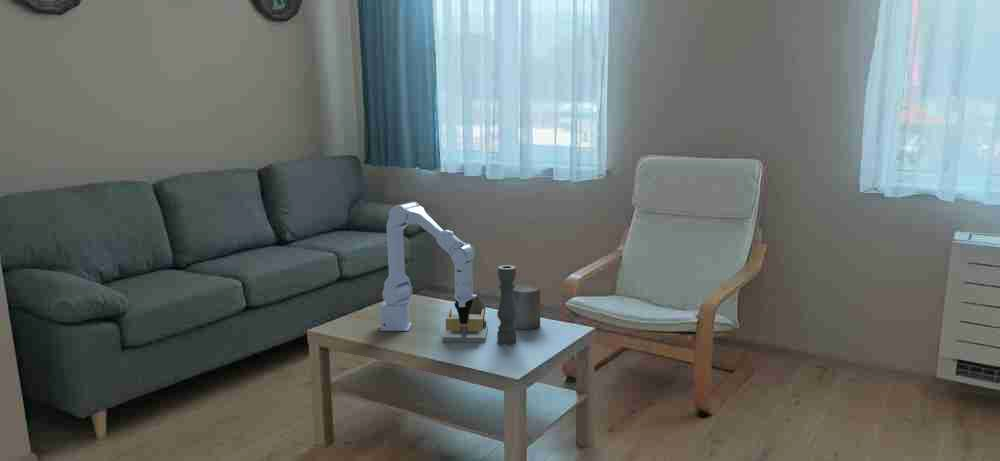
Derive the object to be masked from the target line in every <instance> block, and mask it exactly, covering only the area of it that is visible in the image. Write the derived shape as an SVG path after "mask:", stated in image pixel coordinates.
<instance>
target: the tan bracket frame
mask: <svg viewBox="0 0 1000 461" xmlns="http://www.w3.org/2000/svg"><path fill="white" fill-rule="evenodd" d="M452 311H453V310H452V308H449V310H448V312H447V314H446V317H445V329H446V331H460V330H461V327H468V331H482V330H483V321H484V320H486V319H485V316H484V309H482V313H481V317H480V318H468V322H467V324H461V323H460V320H459V318H457V317H452V316H453V312H452Z"/></svg>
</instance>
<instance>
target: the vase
mask: <svg viewBox="0 0 1000 461" xmlns="http://www.w3.org/2000/svg"><path fill="white" fill-rule="evenodd" d="M472 299H473V302H472V306H471V308H470V312H469V314H475V315H480V317H481V313H482V309H484V317H485V316H486V305H485V303H484V302H483V300H482V299H481V298H480V295H477V294H476V298H472Z"/></svg>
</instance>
